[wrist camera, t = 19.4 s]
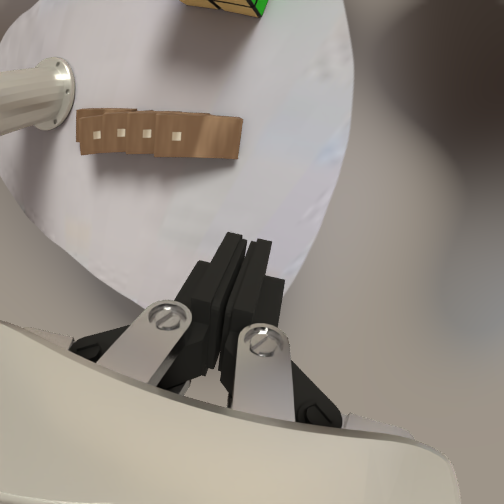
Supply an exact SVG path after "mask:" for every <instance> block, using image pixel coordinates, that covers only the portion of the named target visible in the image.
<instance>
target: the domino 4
mask: <svg viewBox="0 0 504 504" xmlns="http://www.w3.org/2000/svg"><path fill="white" fill-rule="evenodd" d="M156 114H198V115H211V114H209V113H188V112H129V113H128V114H127V133H126V154H154V143H155V126H156Z"/></svg>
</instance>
